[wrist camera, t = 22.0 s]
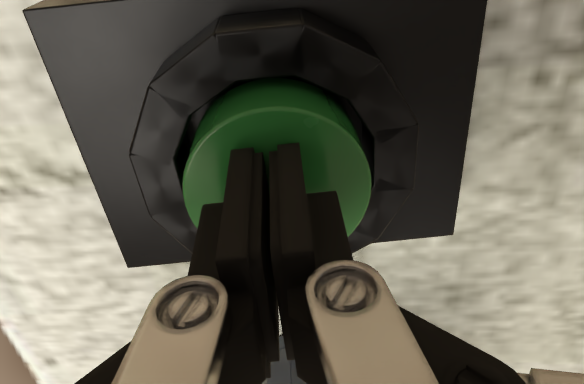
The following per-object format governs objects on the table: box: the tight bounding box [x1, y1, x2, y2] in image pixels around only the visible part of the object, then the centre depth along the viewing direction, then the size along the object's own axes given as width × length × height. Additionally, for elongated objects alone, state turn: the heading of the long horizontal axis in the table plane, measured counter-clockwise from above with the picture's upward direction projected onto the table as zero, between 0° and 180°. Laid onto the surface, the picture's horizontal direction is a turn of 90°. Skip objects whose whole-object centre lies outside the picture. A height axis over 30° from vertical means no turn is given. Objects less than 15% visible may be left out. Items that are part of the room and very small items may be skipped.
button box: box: [23, 0, 487, 268], centre depth 14 cm, size 12×9×4 cm
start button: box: [182, 78, 372, 237], centre depth 12 cm, size 5×5×2 cm
